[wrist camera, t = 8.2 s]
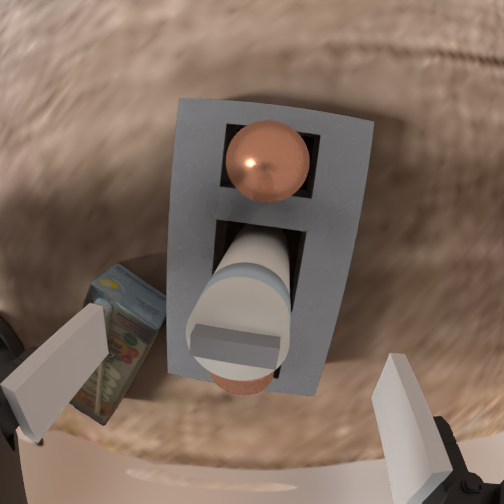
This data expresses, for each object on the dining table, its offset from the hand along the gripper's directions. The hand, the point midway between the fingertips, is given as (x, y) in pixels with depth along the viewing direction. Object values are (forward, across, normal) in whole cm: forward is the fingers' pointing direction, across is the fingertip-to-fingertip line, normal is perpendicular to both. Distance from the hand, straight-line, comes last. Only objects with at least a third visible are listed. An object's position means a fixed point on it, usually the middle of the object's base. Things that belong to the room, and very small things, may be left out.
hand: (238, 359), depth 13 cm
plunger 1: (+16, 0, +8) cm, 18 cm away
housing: (+16, 0, 0) cm, 17 cm away
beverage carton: (+17, -16, -14) cm, 27 cm away
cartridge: (+16, 0, 0) cm, 17 cm away
